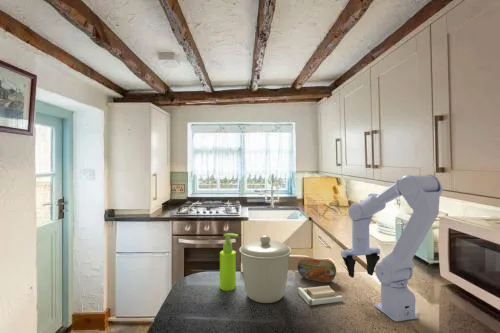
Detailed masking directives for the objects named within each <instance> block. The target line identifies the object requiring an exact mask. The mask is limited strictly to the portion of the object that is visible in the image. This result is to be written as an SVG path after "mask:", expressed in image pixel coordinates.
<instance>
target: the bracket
mask: <svg viewBox="0 0 500 333" xmlns="http://www.w3.org/2000/svg"><path fill="white" fill-rule="evenodd" d="M327 286H328V287H330V288H331V286H330V285H327ZM307 288H308V287H305V288H302V287H301V286H300V287H297V294H298V295H299V296H300V297H301V298H302V299H303V301H305V302H306V304H307V305H308V306H315V305H321V304H322V305H323V304H331V303H338V302H340V303H341V302H343V296H342V295H335V296H332V297H324V298H316V299H311V297H310V296H309V295H308V294H307ZM310 288H312V287H310Z"/></svg>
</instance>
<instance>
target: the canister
mask: <svg viewBox="0 0 500 333" xmlns="http://www.w3.org/2000/svg"><path fill="white" fill-rule="evenodd" d="M238 252H239V253H240V256H241V265H242V275H243V282H244V288H245V289H244V290H245V293H246V296H248V298H249V299H250V300H252V301H253V302H256V303H260V304H272V303H276V302H279V301H280V300H281V299H283V297H284V295H285V294H286V293H285V292H286V288H287V282H288V281H287V280H288V275H289V274H288V273H289V266H290V265H289V264H290V263H289V262H290V255H291V254H292V252H293V250H292V248H291V247H290V246H288V245H287V244H285V243H284V242H280V241H277V240H271V237H270V236H269V235H262V236H260V238H259V240H253V241H248V242H246V243H244V244H243V245H241V246H240V247H239V248H238Z"/></svg>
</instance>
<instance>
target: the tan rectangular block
mask: <svg viewBox="0 0 500 333" xmlns="http://www.w3.org/2000/svg"><path fill="white" fill-rule="evenodd" d="M328 286H329V285H322V286H321V285H320V286H315V287H314V286H313V287H312V288H311V287H306V288H307V294H308V295H309V296H310V297H311V299H316V298H324V297H332V296H336V292H335V290H333V289H332V288H331V286H330V287H328Z"/></svg>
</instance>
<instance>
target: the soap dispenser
mask: <svg viewBox="0 0 500 333" xmlns="http://www.w3.org/2000/svg"><path fill="white" fill-rule="evenodd" d="M222 237H225V240H224V241H223V243H222V246H223V247H222V250H221V251H220V252H219V289H220V290H221V289H222V291H227V292H228V291H229V290H230V291H233V290H235V289H236V287H237V285H236V284H237V282H236V281H237V278H236V276H237V270H236V269H237V267H236V266H237V265H236V264H237V262H236V260H237V256H236V254H237V251H235V250H233V242H232V241H231V237H234V238H237V237H239V234H237V233H232V232H227V233H223V236H222Z"/></svg>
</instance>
